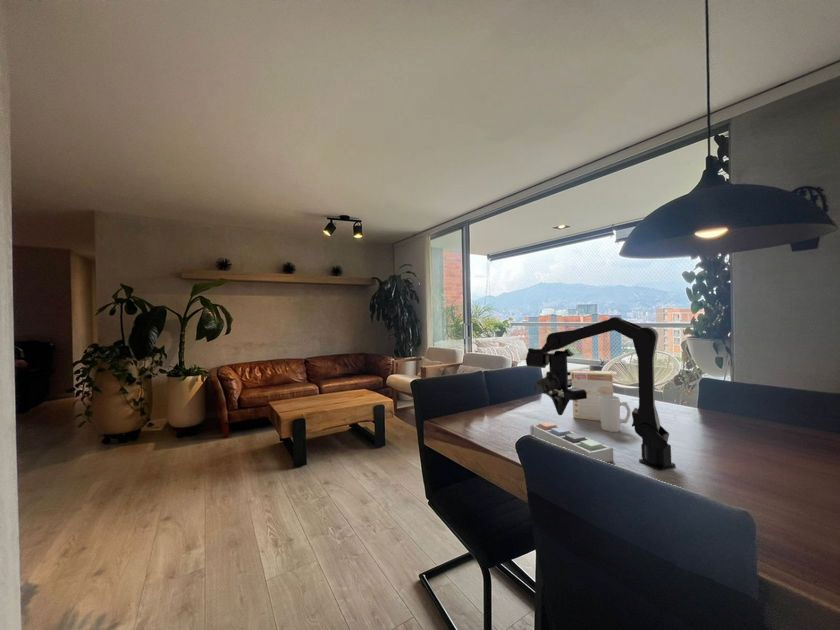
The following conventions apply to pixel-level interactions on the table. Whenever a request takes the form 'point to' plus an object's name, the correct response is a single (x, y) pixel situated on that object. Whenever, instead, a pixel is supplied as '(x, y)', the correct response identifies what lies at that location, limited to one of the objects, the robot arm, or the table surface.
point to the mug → (612, 413)
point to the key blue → (560, 431)
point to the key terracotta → (546, 426)
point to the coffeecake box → (591, 392)
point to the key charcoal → (574, 438)
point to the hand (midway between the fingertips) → (560, 414)
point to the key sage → (590, 445)
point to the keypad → (600, 454)
